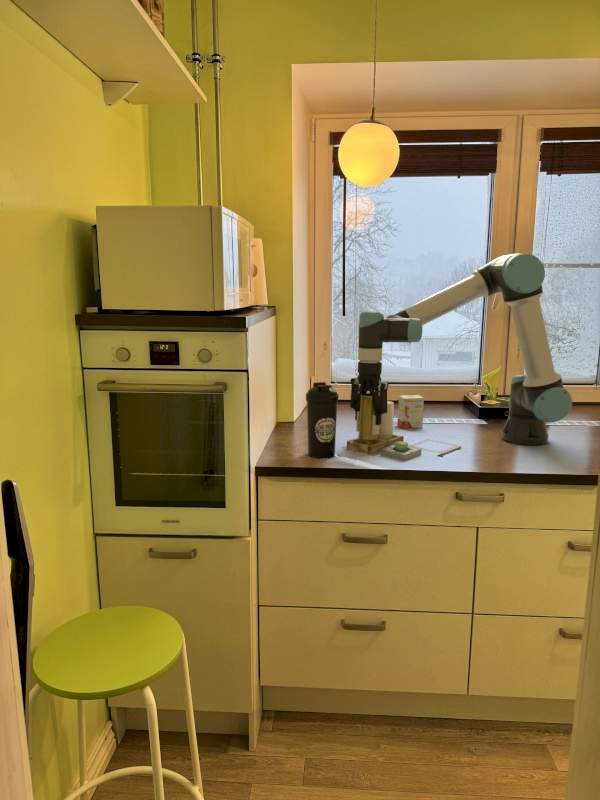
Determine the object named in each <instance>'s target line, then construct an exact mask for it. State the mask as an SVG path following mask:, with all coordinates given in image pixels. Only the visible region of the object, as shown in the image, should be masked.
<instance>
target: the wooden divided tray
mask: <svg viewBox="0 0 600 800" xmlns="http://www.w3.org/2000/svg"><path fill="white" fill-rule="evenodd" d="M398 441H402V442H404V435H399V434H394V433H393V439H389V440H381V439H375V440H362V439H359V438H358V437H356V438H354V439H353V438H352V439H348V440H346V446H343V447H342V449H345V450H348V451H352V452H356V453H360V454H363V455H367V456H371V457H375V456H378V455H381V449H382V448H385V447H388V446H391V445H394V444H395V442H398Z"/></svg>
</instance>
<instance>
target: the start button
mask: <svg viewBox="0 0 600 800" xmlns="http://www.w3.org/2000/svg"><path fill="white" fill-rule="evenodd" d="M408 445H409V443H408V442H407V441H403V442H402V441H398V442H395V450H397V451H407V450H408Z"/></svg>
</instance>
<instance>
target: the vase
mask: <svg viewBox="0 0 600 800" xmlns="http://www.w3.org/2000/svg"><path fill="white" fill-rule="evenodd" d="M374 414H375V412H374V407H373V402H372V396H371V394H370V392H367V393H366V395H365V396H364V395H362V394H361V398H360V418H359V432H358V434H357V438H359V439H362V440H375V439H377V435H372V421H373V415H374Z"/></svg>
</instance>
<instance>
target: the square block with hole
mask: <svg viewBox="0 0 600 800" xmlns="http://www.w3.org/2000/svg"><path fill="white" fill-rule="evenodd" d="M380 455H381V456H384V457H388V458H392V459H395V460H396V459H397V460H400V461H404V462H405V461H409V460H410V459H413V458H415V457H419V456H422V449H419V448H415V447H411V446H408V450H407V451H397V450H395V444H394V445H391V446H388V447H385V448H382V449H381V454H380Z"/></svg>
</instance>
